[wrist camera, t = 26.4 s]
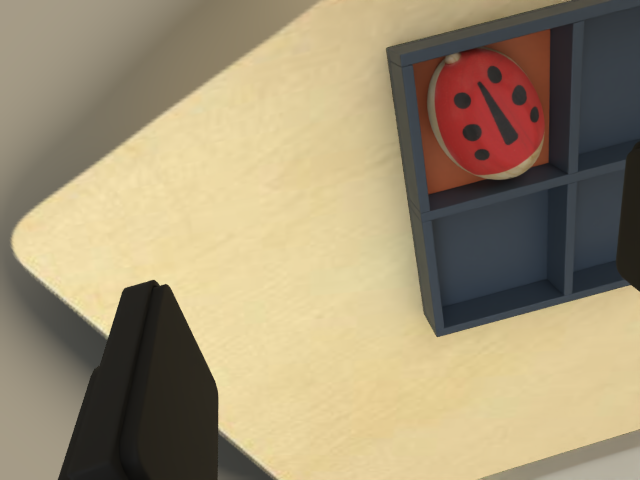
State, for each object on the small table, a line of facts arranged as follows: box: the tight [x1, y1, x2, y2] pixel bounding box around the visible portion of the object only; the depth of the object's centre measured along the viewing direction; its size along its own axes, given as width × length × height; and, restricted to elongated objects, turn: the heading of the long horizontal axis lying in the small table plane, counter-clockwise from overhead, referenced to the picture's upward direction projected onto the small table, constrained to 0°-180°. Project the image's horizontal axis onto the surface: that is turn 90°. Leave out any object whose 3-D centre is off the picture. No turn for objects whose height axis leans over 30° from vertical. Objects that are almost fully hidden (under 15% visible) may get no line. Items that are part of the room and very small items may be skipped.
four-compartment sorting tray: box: [386, 0, 640, 337], centre depth 35 cm, size 21×21×3 cm
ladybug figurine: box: [427, 47, 545, 180], centre depth 31 cm, size 7×10×4 cm
